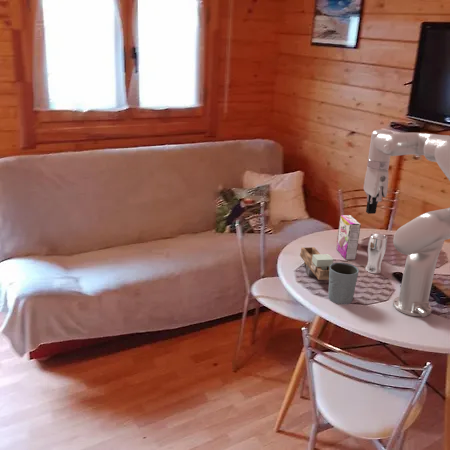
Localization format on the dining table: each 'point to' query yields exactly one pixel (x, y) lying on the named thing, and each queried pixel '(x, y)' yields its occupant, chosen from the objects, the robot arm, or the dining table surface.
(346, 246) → the candy bar box
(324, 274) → the brown long open box
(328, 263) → the block
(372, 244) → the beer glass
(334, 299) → the grey green cup
